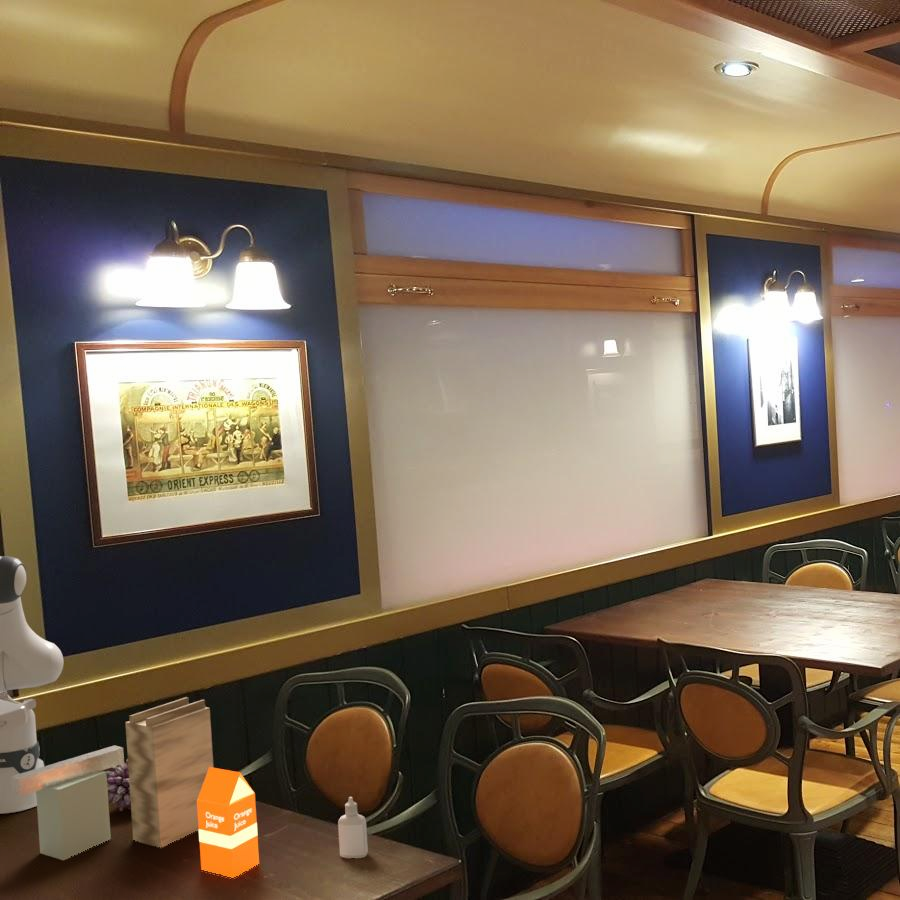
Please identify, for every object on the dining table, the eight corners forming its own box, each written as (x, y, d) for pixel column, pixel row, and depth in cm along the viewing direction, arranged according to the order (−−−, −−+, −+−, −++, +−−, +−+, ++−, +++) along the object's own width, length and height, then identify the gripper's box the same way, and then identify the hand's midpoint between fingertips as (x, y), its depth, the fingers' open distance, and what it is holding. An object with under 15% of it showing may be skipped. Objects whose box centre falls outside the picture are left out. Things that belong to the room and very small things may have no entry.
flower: (110, 823, 238) (107, 771, 238) (99, 808, 249) (96, 758, 248) (161, 811, 244) (158, 761, 244) (148, 796, 254) (145, 748, 254)
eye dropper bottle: (356, 862, 210) (353, 803, 209) (336, 856, 213) (333, 798, 213) (371, 854, 213) (367, 796, 213) (351, 848, 217) (348, 791, 216)
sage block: (40, 853, 223) (35, 783, 223) (87, 833, 233) (83, 766, 233) (63, 860, 219) (58, 789, 218) (110, 839, 229) (106, 771, 228)
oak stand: (133, 840, 227) (124, 715, 227) (189, 815, 241) (181, 696, 240) (160, 848, 222) (152, 719, 222) (216, 821, 236) (209, 700, 235)
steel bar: (20, 796, 216) (12, 792, 218) (124, 763, 233) (115, 760, 236) (19, 779, 215) (11, 776, 218) (123, 747, 233) (114, 745, 236)
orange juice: (232, 879, 205) (226, 778, 204) (200, 871, 210) (194, 772, 209) (260, 863, 212) (254, 766, 211) (228, 856, 216) (222, 760, 216)
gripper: (-16, 715, 195) (49, 691, 207) (-75, 698, 207) (-11, 677, 218) (-12, 747, 196) (52, 722, 207) (-71, 729, 208) (-8, 706, 219)
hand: (19, 698), depth 213 cm, fingers open, 8 cm apart
